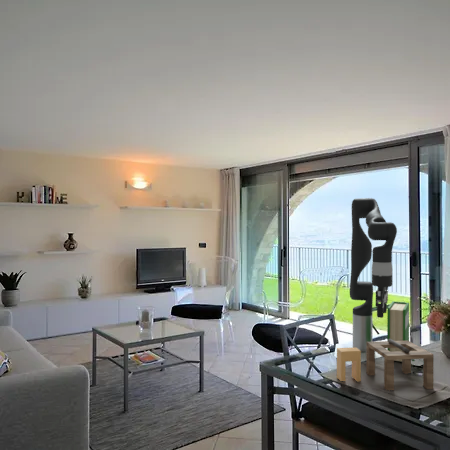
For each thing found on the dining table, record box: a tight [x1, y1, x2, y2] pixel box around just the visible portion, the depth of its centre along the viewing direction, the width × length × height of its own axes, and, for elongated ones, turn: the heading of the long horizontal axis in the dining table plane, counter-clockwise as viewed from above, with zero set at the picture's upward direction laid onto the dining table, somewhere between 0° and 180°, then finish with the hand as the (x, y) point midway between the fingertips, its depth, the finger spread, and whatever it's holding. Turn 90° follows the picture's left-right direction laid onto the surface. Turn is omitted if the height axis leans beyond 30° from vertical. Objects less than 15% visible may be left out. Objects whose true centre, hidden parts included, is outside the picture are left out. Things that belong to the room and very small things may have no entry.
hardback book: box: [386, 300, 410, 363], centre depth 193 cm, size 18×7×24 cm, turn 151°
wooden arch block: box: [336, 347, 362, 382], centre depth 166 cm, size 4×8×12 cm, turn 96°
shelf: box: [365, 339, 434, 392], centre depth 165 cm, size 18×18×15 cm
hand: (381, 315), depth 163 cm, fingers open, 8 cm apart
